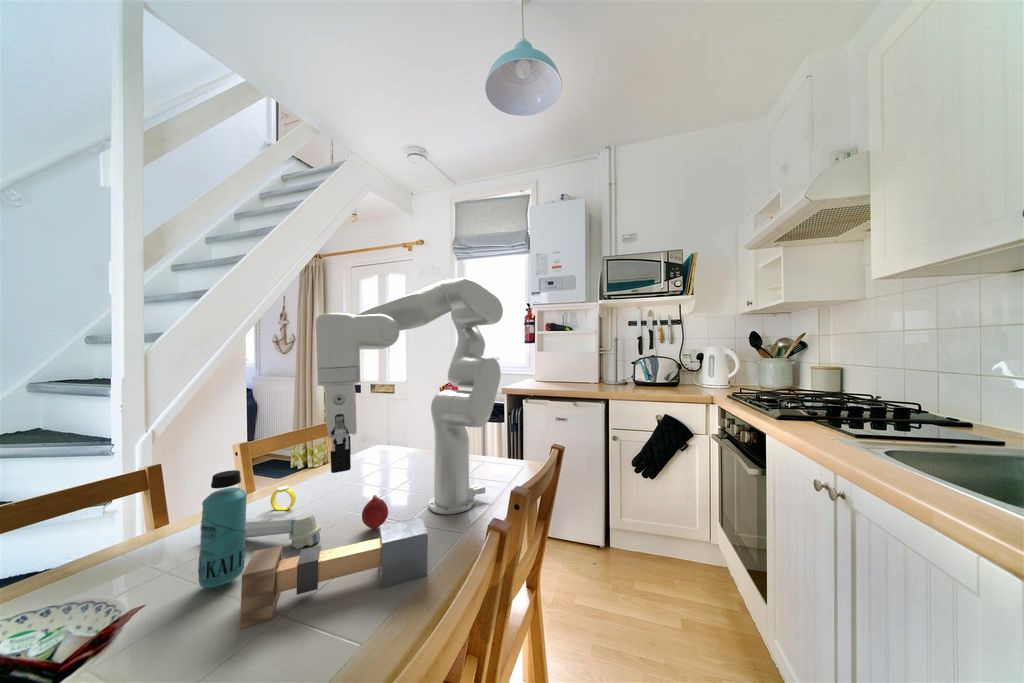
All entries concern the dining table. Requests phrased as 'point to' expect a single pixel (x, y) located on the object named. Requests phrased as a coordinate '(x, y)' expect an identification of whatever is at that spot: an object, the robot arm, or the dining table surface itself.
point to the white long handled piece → (286, 529)
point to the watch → (282, 489)
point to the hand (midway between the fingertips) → (341, 462)
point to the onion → (374, 513)
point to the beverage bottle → (223, 531)
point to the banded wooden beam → (326, 565)
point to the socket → (259, 587)
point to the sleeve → (403, 551)
